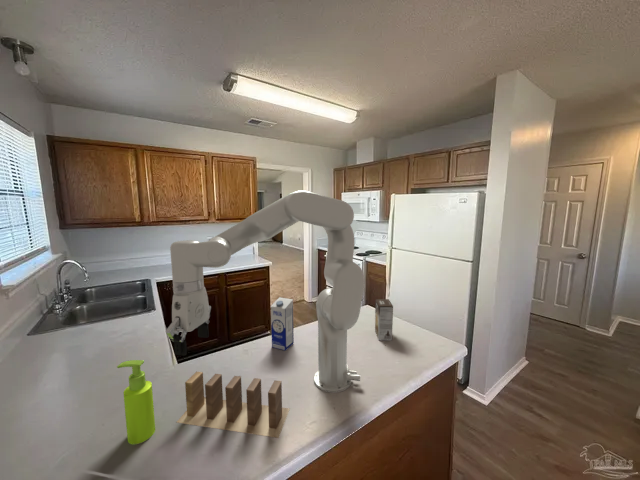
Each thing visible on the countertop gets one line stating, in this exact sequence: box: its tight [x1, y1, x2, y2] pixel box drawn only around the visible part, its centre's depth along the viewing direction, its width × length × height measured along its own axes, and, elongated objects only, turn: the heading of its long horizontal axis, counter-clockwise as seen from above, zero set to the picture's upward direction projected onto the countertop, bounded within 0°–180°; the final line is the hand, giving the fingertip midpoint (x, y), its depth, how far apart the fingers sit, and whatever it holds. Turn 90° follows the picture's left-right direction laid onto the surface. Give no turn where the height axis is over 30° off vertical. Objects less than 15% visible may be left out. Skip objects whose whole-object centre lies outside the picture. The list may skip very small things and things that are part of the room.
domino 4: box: [245, 377, 263, 426], centre depth 72 cm, size 2×5×10 cm, turn 170°
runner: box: [176, 396, 291, 439], centre depth 73 cm, size 29×10×1 cm, turn 80°
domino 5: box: [267, 380, 283, 429], centre depth 71 cm, size 2×5×10 cm, turn 170°
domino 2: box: [204, 373, 224, 420], centre depth 74 cm, size 2×5×10 cm, turn 170°
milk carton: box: [270, 296, 295, 352], centre depth 111 cm, size 7×7×20 cm
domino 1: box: [184, 371, 205, 417], centre depth 75 cm, size 2×5×10 cm, turn 170°
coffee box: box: [374, 298, 394, 341], centre depth 120 cm, size 9×6×16 cm
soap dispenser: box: [116, 359, 156, 445], centre depth 66 cm, size 6×7×20 cm
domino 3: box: [224, 375, 243, 423], centre depth 73 cm, size 2×5×10 cm, turn 170°
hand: (192, 345), depth 73 cm, fingers open, 9 cm apart
